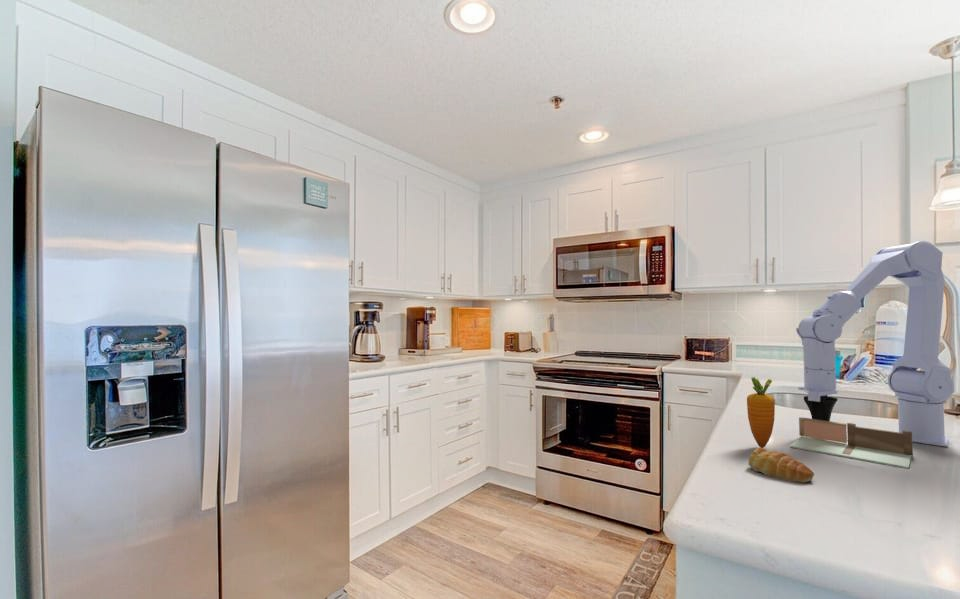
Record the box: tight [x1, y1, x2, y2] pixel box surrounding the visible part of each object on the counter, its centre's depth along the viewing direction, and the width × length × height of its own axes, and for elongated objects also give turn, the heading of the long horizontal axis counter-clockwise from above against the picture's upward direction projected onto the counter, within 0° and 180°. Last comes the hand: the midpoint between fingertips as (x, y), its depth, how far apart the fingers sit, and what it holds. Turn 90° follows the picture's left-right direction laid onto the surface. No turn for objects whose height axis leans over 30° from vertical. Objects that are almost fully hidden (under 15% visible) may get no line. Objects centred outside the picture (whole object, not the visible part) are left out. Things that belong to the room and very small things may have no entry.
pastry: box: [748, 447, 815, 483], centre depth 77 cm, size 9×7×4 cm
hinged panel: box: [798, 416, 848, 443], centre depth 97 cm, size 1×8×4 cm, turn 44°
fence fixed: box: [846, 422, 914, 456], centre depth 90 cm, size 1×10×4 cm, turn 43°
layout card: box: [789, 436, 913, 470], centre depth 91 cm, size 14×18×1 cm
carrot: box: [746, 376, 776, 449], centre depth 92 cm, size 5×5×15 cm
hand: (821, 429), depth 99 cm, fingers closed
